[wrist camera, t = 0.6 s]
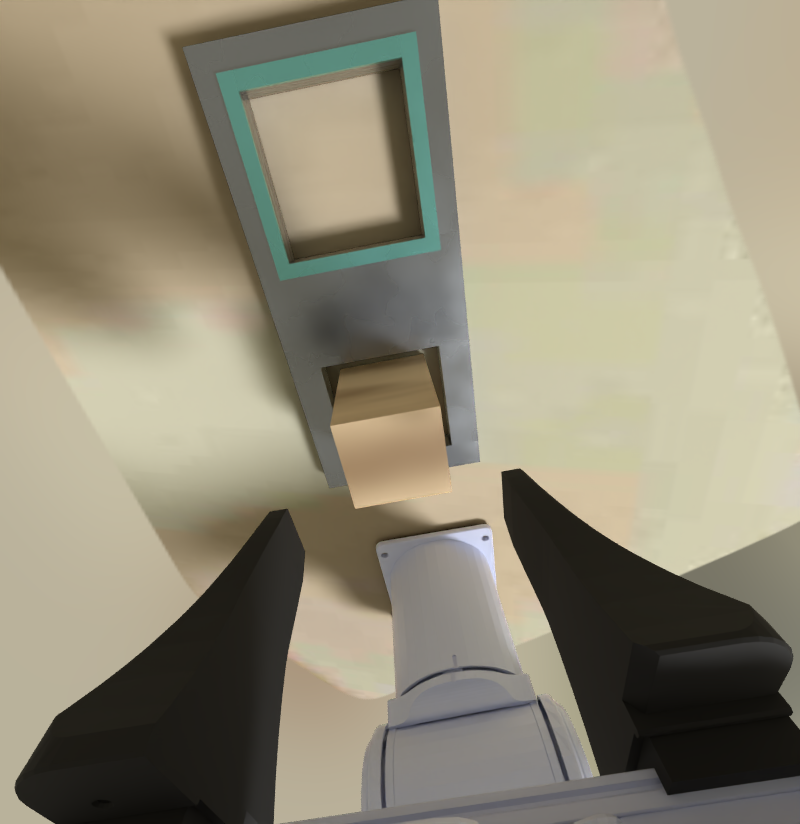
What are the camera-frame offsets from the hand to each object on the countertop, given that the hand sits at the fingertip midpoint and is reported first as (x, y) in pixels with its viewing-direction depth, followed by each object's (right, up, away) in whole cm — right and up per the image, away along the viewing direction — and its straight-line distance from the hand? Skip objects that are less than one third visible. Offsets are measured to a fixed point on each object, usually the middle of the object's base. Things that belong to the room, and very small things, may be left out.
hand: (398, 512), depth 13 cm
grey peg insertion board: (-2, +9, +6) cm, 11 cm away
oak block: (-1, +4, +9) cm, 10 cm away
